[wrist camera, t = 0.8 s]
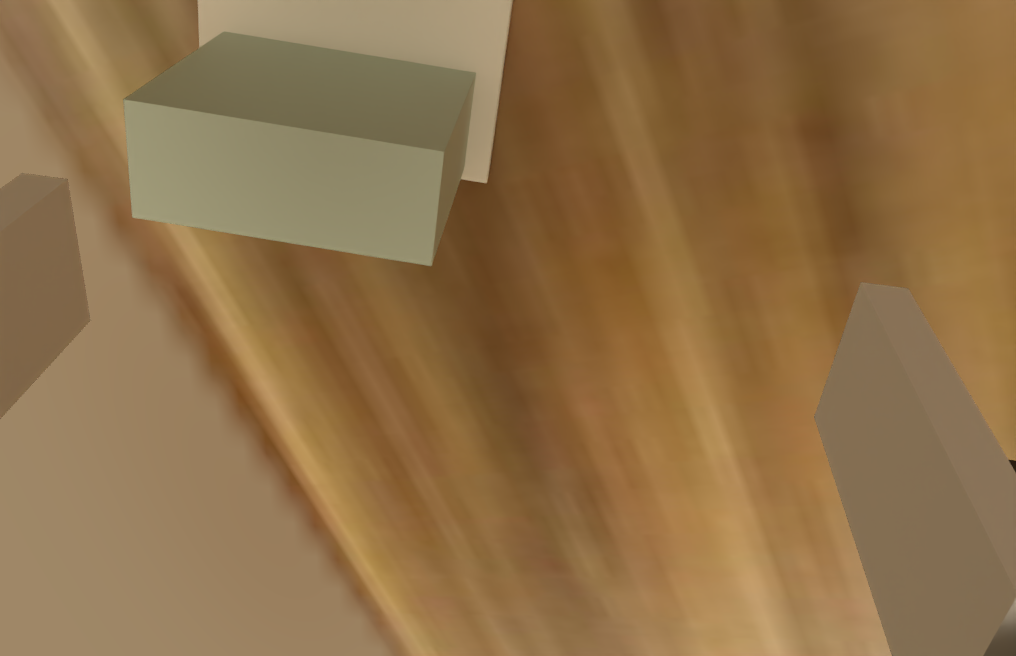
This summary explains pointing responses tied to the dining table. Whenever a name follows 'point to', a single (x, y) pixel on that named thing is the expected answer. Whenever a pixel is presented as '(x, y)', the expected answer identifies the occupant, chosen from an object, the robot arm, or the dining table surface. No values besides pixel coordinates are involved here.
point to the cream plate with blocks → (322, 122)
